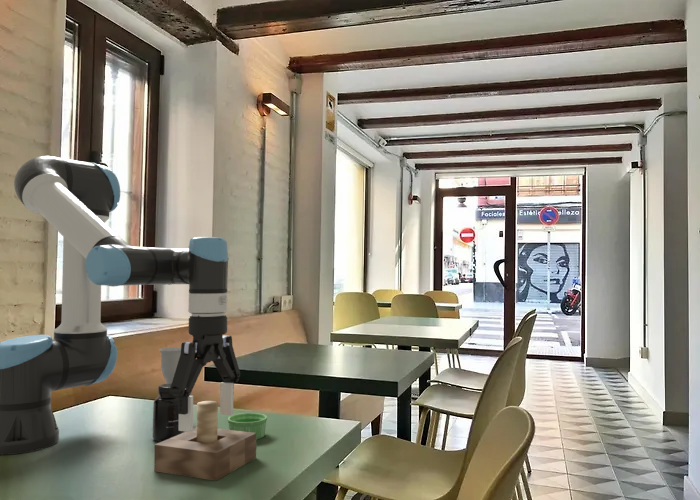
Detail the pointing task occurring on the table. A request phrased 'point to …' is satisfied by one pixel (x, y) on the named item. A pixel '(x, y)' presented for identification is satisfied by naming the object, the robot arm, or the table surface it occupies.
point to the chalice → (169, 362)
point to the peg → (207, 421)
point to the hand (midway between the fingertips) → (207, 422)
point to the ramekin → (248, 423)
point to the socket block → (205, 454)
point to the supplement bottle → (165, 414)
